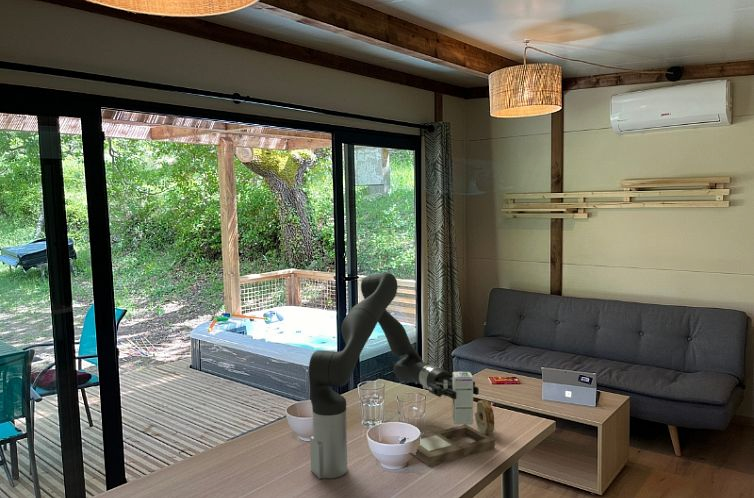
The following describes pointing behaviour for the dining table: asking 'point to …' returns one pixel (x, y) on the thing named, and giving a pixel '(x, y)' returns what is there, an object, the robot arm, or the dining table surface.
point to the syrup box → (463, 398)
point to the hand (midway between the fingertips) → (466, 393)
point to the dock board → (451, 445)
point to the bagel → (484, 417)
